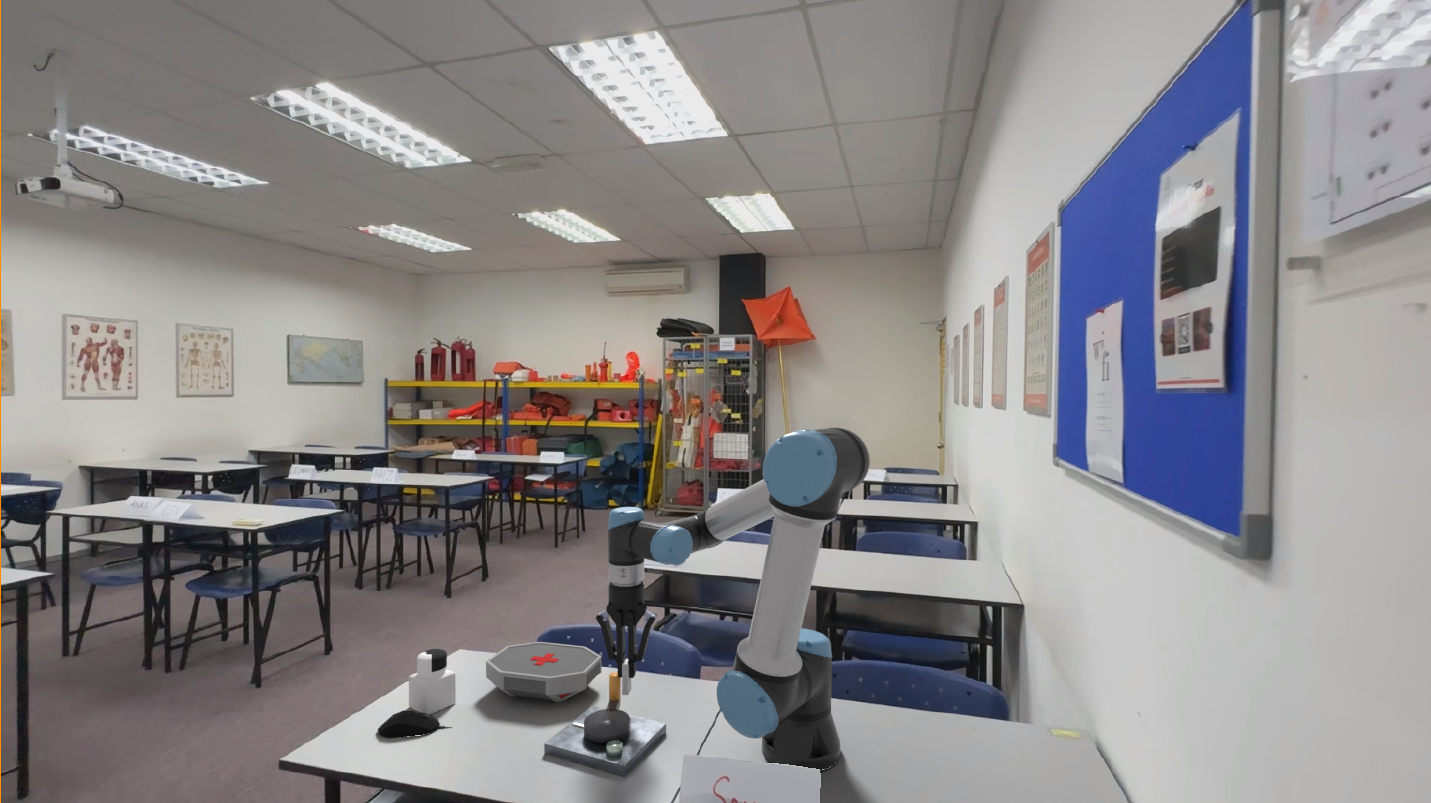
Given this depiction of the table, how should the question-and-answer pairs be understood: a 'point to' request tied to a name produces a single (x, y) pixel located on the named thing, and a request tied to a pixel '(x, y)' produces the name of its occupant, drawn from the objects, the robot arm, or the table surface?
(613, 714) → the domed crank handle
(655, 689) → the table surface
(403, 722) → the gaming mouse
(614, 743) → the base
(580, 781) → the table surface
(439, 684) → the medicine bottle
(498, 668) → the first aid kit
